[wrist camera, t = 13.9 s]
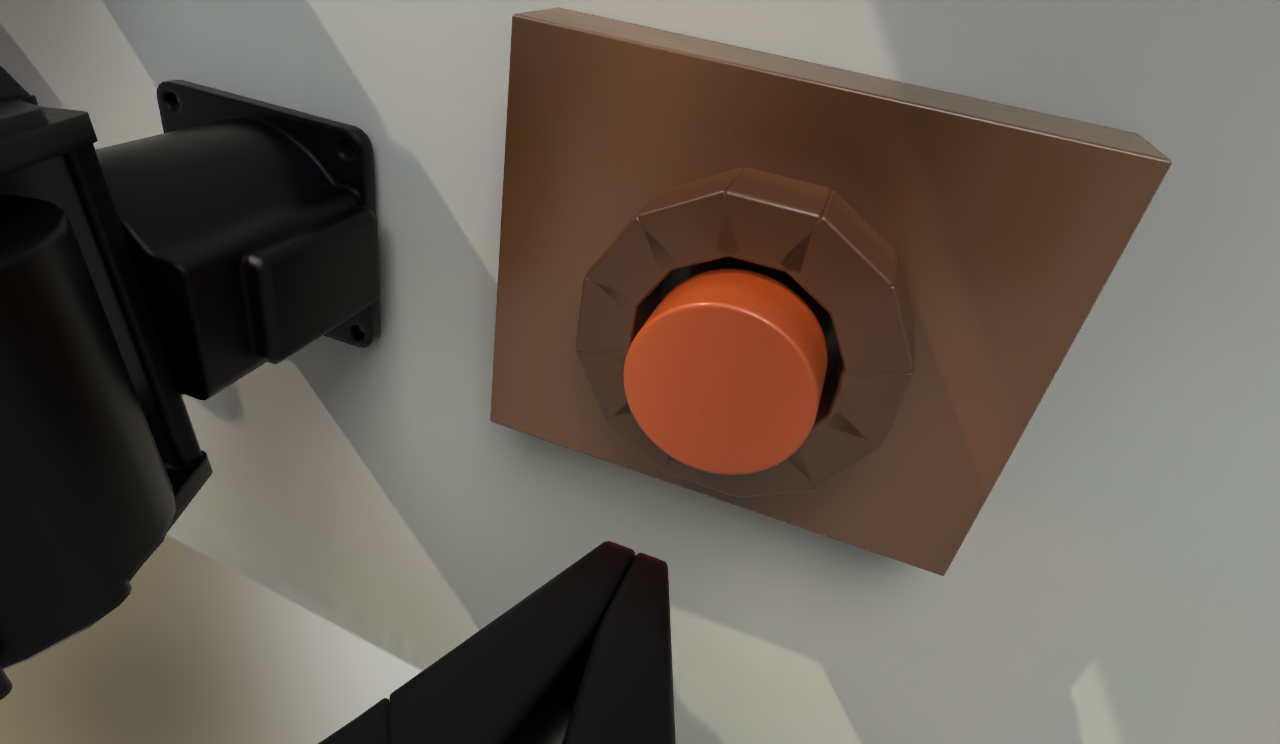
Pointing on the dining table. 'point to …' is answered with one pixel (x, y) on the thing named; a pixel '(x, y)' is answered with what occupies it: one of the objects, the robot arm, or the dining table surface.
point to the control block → (802, 260)
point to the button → (727, 372)
